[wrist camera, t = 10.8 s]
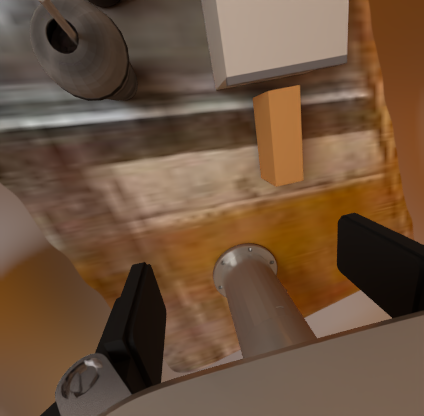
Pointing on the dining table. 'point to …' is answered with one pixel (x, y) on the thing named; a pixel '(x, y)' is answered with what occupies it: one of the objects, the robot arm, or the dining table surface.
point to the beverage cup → (82, 50)
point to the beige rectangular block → (273, 38)
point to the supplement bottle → (104, 2)
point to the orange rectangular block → (279, 135)
